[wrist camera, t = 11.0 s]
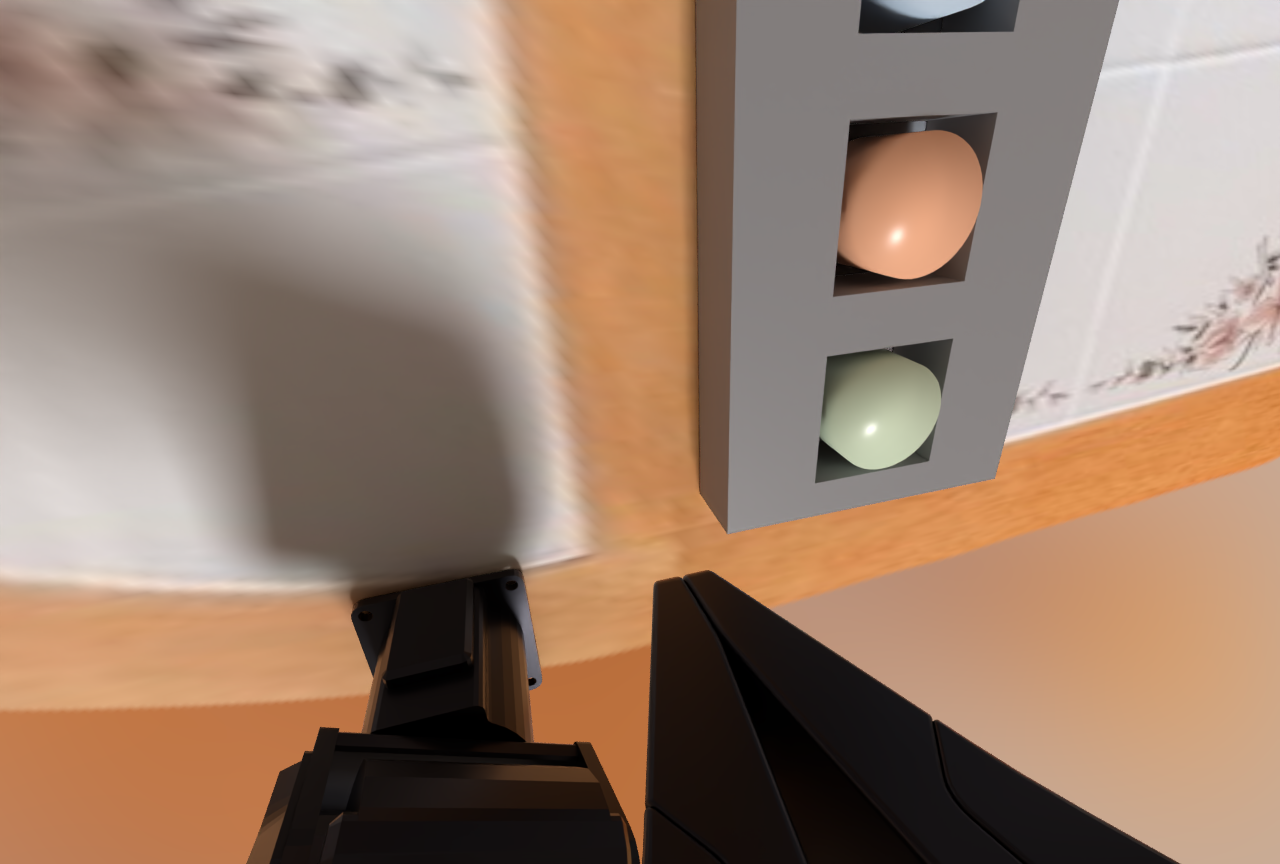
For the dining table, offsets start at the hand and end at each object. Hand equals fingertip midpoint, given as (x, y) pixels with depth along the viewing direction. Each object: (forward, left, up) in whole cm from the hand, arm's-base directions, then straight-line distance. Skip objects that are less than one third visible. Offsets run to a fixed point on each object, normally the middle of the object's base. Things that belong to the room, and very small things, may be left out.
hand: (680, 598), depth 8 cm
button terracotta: (+4, -11, -13) cm, 17 cm away
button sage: (-3, -11, -13) cm, 17 cm away
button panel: (+4, -11, -13) cm, 17 cm away
